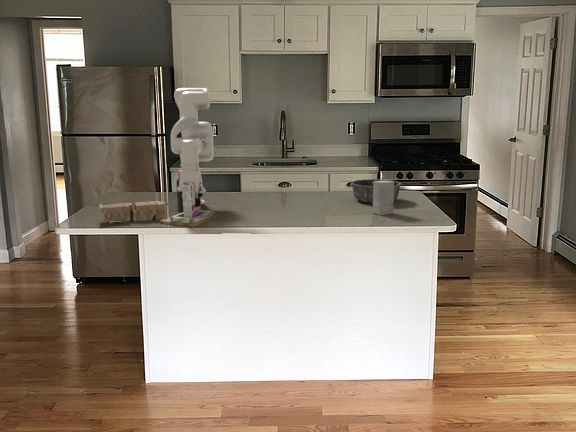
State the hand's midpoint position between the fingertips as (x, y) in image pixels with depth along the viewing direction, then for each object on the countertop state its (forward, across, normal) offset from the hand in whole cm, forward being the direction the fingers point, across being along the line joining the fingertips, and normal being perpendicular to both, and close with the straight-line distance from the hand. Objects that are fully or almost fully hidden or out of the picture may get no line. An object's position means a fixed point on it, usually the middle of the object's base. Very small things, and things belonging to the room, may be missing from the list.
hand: (192, 205), depth 287 cm
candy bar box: (+5, 0, 0) cm, 5 cm away
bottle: (+8, -17, +18) cm, 26 cm away
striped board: (+7, -2, 0) cm, 7 cm away
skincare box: (+7, +75, +52) cm, 92 cm away
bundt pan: (+8, +62, +81) cm, 102 cm away
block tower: (+8, -27, -10) cm, 29 cm away
